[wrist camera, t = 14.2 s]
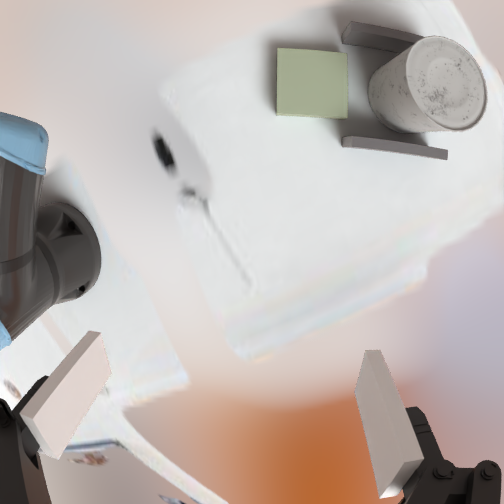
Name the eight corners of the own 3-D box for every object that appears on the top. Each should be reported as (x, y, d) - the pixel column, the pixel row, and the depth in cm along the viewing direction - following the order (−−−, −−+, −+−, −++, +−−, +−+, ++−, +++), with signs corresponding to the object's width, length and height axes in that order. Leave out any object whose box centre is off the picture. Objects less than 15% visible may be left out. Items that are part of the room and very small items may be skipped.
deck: (276, 115, 35) (276, 113, 33) (277, 54, 32) (277, 47, 30) (343, 119, 35) (347, 117, 32) (342, 58, 32) (347, 53, 30)
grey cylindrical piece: (358, 67, 32) (391, 37, 21) (422, 60, 31) (470, 36, 19) (379, 139, 35) (422, 138, 23) (441, 128, 33) (496, 127, 22)
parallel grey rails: (342, 146, 36) (351, 146, 31) (342, 35, 31) (350, 21, 26) (428, 157, 35) (447, 160, 30) (427, 52, 30) (444, 43, 25)
